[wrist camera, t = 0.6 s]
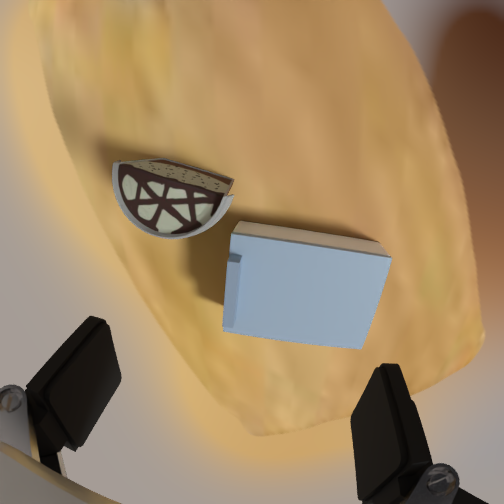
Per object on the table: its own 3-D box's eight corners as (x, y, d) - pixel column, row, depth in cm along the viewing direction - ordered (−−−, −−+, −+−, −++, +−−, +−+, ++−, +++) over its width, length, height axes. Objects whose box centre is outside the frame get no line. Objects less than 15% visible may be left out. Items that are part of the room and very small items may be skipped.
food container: (142, 200, 36) (99, 221, 27) (152, 154, 34) (108, 161, 24) (231, 230, 36) (211, 262, 27) (246, 183, 34) (230, 198, 25)
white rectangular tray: (239, 220, 35) (232, 231, 31) (378, 242, 34) (389, 255, 30) (231, 308, 40) (224, 327, 36) (354, 325, 39) (360, 344, 35)
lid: (232, 232, 31) (227, 240, 29) (390, 256, 30) (398, 265, 27) (224, 328, 36) (219, 341, 33) (360, 346, 34) (364, 359, 32)
